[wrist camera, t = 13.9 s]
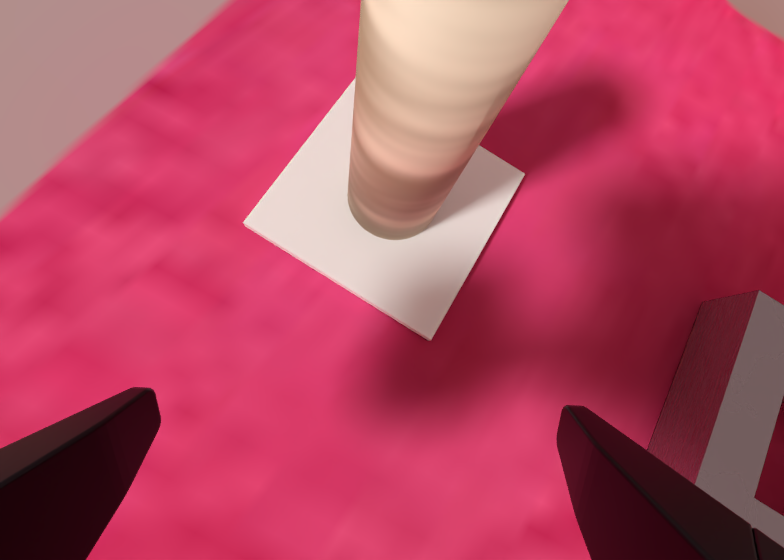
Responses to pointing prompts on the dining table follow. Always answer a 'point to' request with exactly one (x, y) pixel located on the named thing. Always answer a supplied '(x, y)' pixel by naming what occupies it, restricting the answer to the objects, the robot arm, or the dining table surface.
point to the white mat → (374, 254)
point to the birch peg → (431, 98)
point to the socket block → (727, 404)
